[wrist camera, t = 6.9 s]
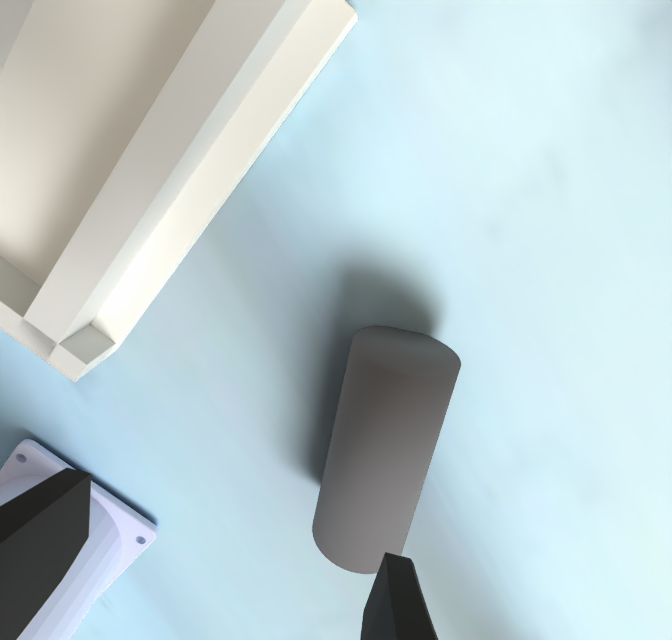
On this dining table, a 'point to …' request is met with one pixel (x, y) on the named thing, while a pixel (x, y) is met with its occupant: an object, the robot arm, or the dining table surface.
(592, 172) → the dining table surface
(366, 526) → the grey rounded cylinder
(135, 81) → the comb rack
